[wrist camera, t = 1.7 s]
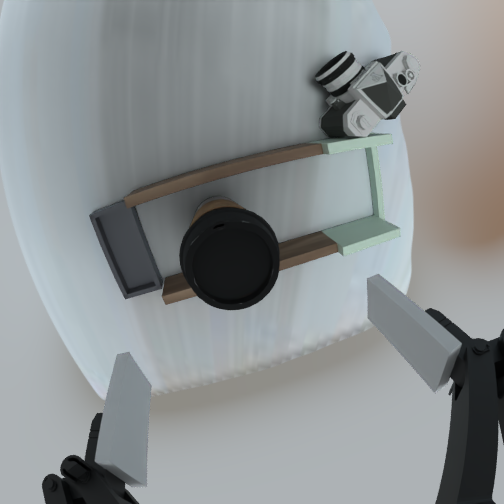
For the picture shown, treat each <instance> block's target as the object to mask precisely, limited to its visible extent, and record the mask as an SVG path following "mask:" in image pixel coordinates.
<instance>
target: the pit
mask: <svg viewBox="0 0 504 504" xmlns="http://www.w3.org/2000/svg"><path fill="white" fill-rule="evenodd" d="M89 216H90V219H91V222H92V224H93V227H94V230H95V232H96V235H97V237H98V240H99V242H100V245H101V247H102V250H103V252H104V254H105V257H106V259H107V261H108V264H109V266H110V268H111V270H112V273H113V275H114V277H115V279H116V281H117V283H118V286H119V288H120V290H121V292H122V294H123V296H124V298H125V299H128V298H131V297H135V296H138V295H142V294H145V293H149V292H152V291H155V290H159V289H162V286H163V280H162V278H161V275H160V273H159V270H158V268H157V265H156V263H155V260H154V258H153V255H152V253H151V250H150V248H149V245H148V242H147V240H146V237H145V234H144V232H143V229H142V226H141V223H140V221H139V218H138V215H137V212H136V209H135V206H133V207H131V208H128V209H127V207H126V204H125V201H124V200H123V201H120V202H118V203H115V204H112V205H110V206H107V207H105V208H102V209H100V210H97V211H95V212H93V213H92V214H90V215H89Z"/></svg>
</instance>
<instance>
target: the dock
mask: <svg viewBox="0 0 504 504" xmlns="http://www.w3.org/2000/svg"><path fill="white" fill-rule="evenodd" d="M308 143H321V144H322V149H323V154H329V155H330V154H335V153H340V152H345V151H351V150H356V149H362V148H366V154H367V161H368V168H369V176H370V184H371V193H372V202H373V213H374V215H373V216H369V217H366V218H363V219H359V220H356V221H353V222H349V223H346V224H343V225H339V226H336V227H333V228H329V229H326V230H323V231H322V232H323V233H324V234H326V235H327V236H328V237H330V238H331V239H332V240H334V241H335V242H336V243H337V246H338V252H339V253H340V254H342V255H343V256H346V255H349V254H352V253H355V252H358V251H361V250H364V249H366V248H369V247H372V246H375V245H378V244H381V243H383V242H386V241H389V240H392V239H395V238H397V237H400V228H399V227H397V226H395V225H393V224H391V223H389V222H387V221H385V216H384V202H383V191H382V181H381V173H380V165H379V157H378V150H377V146H381V145H387V144H393V141H392V134H375V133H370V134H369V135H368V136H367V137H359V138H356V137H336V138H330V139H324V140H319V141H313V142H308Z"/></svg>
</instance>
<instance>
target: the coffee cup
mask: <svg viewBox="0 0 504 504" xmlns="http://www.w3.org/2000/svg"><path fill="white" fill-rule="evenodd" d="M179 256H180V265H181V269H182V272H183V275H184V277H185V279H186V281H187V283H188V284H189V285H190V287H191V288H192V290H193V291H194V293H195V294H196V295H197V296H198V297H199V298H200V299H202V300H203V301H204V302H205V303H207V304H209V305H211V306H213V307H216V308H219V309H224V310H240V309H244V308H248V307H250V306H252V305H254V304H256V303H258V302H259V301H261V300H262V299H263V298H264V297H265V296H266V295H267V294H268V293H269V292H270V291H271V289H272V288H273V286H274V284H275V282H276V280H277V277H278V273H279V267H280V259H279V257H280V251H279V245H278V241H277V239H276V236H275V233H274V231H273V230H272V228H271V227H270V225H269V224H268V223H267V222H266V221H265V220H264V219H263V218H262V217H260V216H259V215H257V214H255V213H254V212H251V211H248V210H246V209H245V208H243V207H241V206H240V205H238V204H237V203H235V202H234V201H232V200H231V199H229V198H226V197H222V196H215V197H211V198H209V199H207V200H205V201H204V202H202V203H201V205H200V206H199V207H198V209H197V211H196V213H195V216H194V218H193V220H192V223H191V225H190V227H189V229H188V231H187V232H186V234H185V236H184V238H183V240H182V243H181V247H180V255H179Z"/></svg>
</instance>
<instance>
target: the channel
mask: <svg viewBox="0 0 504 504" xmlns="http://www.w3.org/2000/svg"><path fill="white" fill-rule="evenodd" d="M320 154H323V149H322V144H321V143H303V144H298V145H293V146H288V147H284V148H279V149H274V150H270V151H266V152H261V153H257V154H253V155H249V156H245V157H241V158H237V159H233V160H230V161H226V162H222V163H219V164H215V165H211V166H208V167H204V168H201V169H198V170H194V171H191V172H188V173H184V174H181V175H178V176H175V177H172V178H169V179H166V180H163V181H160V182H157V183H154V184H151V185H148V186H145V187H142V188H140V189H137V190H134V191H132V192H131V193H130V194H128V195H127V196H126V197H124V201H125V204H126V207H127V209H128V208H131V207H133V206H136V205H139V204H142V203H145V202H148V201H150V200H153V199H156V198H159V197H162V196H165V195H168V194H172V193H175V192H178V191H181V190H184V189H187V188H191V187H194V186H197V185H200V184H204V183H207V182H211V181H214V180H218V179H221V178H225V177H228V176H232V175H236V174H239V173H243V172H247V171H251V170H255V169H259V168H263V167H267V166H271V165H275V164H279V163H283V162H288V161H292V160H297V159H301V158H306V157H311V156H315V155H320ZM278 245H279V251H280V257H279V259H280V267H279V271H281V270H284V269H287V268H290V267H293V266H296V265H299V264H303V263H306V262H309V261H312V260H315V259H318V258H321V257H324V256H327V255H330V254H333V253H336V252H338V246H337V243H336V242H335V241H334V240H332V239H331V238H330V237H328V236H327V235H326V234H324V233H323V232H322V231H319V232H316V233H313V234H309V235H306V236H303V237H299V238H296V239H293V240H289V241H286V242H283V243H279V244H278ZM195 296H197V295H196V294H195V293H194V291H193V290H192V288H191V287H190V285H189V284H188V283H187V281H186V279H185V277H184V275H183V273H180V274H176V275H173V276H170V277H166V278H165V282H164V288H163V294H162V298H163V300H164V302H165V304H166V305H167V304H170V303H174V302H177V301H181V300H184V299H188V298H191V297H195Z"/></svg>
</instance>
